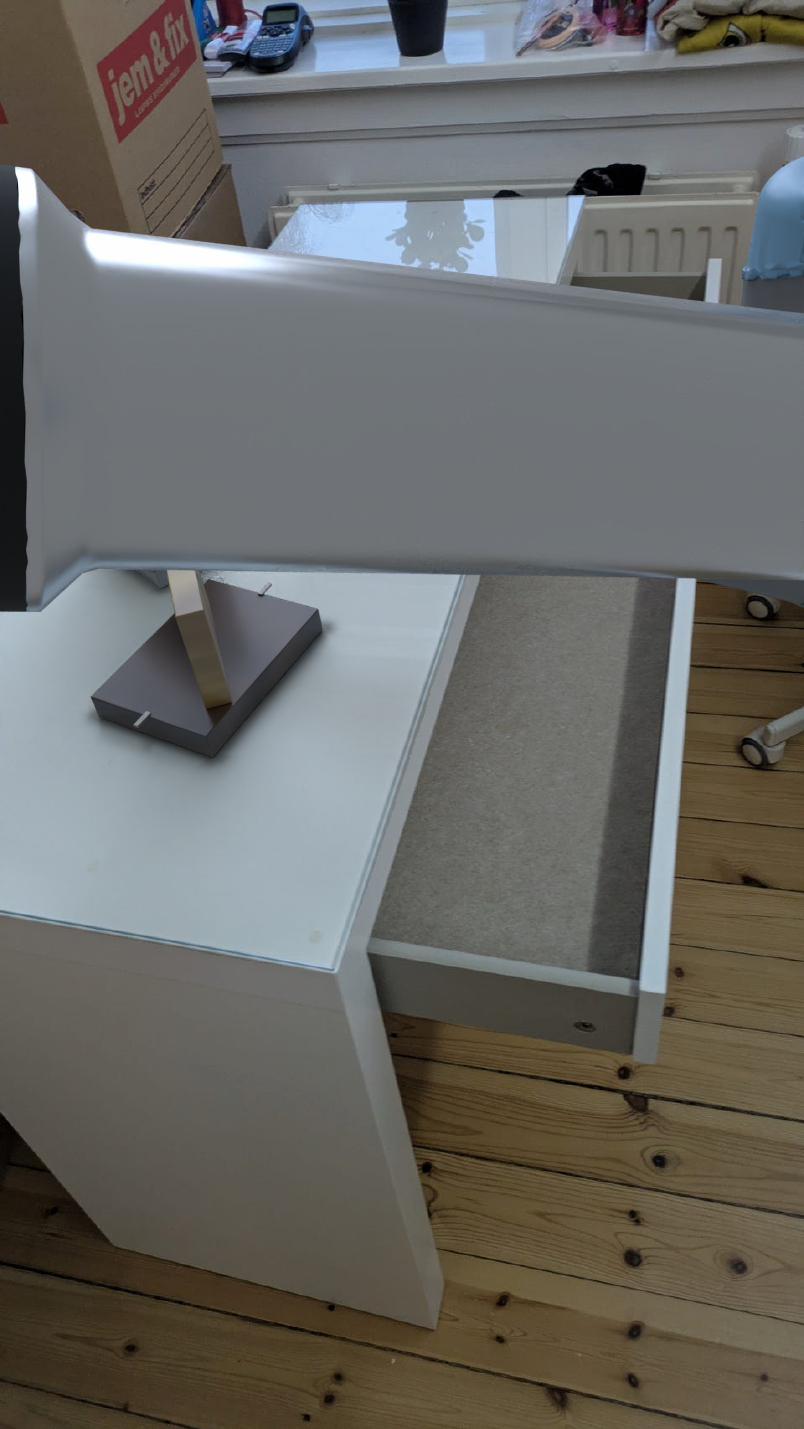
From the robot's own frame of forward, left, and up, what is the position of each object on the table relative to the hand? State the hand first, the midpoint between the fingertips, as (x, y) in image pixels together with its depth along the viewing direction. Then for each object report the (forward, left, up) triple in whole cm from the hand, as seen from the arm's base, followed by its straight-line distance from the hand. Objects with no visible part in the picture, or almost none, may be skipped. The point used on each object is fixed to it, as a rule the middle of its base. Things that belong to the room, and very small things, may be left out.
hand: (229, 408), depth 65 cm
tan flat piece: (-6, +1, -18) cm, 19 cm away
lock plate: (-6, +1, -20) cm, 21 cm away
